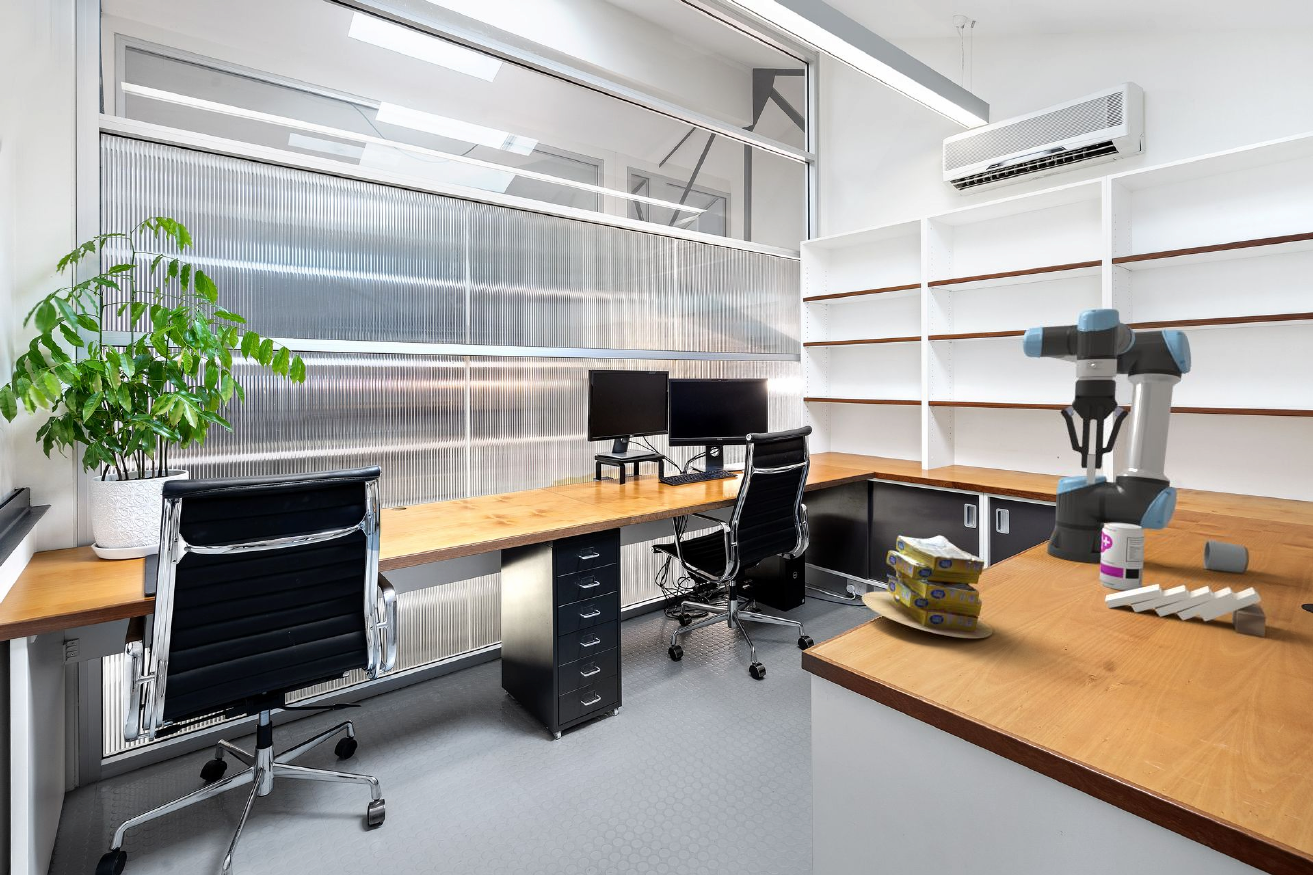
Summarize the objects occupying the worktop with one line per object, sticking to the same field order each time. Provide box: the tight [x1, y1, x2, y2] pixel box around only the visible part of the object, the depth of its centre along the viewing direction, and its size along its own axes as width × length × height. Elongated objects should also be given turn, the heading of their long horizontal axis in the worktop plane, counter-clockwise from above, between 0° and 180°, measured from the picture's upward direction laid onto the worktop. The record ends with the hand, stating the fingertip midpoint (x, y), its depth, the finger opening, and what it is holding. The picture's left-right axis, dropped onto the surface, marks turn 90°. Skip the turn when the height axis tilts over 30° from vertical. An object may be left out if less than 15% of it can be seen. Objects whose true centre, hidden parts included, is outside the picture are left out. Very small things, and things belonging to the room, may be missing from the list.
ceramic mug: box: [1203, 539, 1250, 574], centre depth 169 cm, size 11×8×8 cm
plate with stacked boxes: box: [861, 535, 994, 639], centre depth 130 cm, size 25×25×17 cm
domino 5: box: [1199, 587, 1262, 622], centre depth 128 cm, size 2×5×10 cm
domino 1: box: [1104, 583, 1163, 609], centre depth 138 cm, size 2×5×10 cm
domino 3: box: [1154, 585, 1214, 618], centre depth 132 cm, size 2×5×10 cm
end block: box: [1231, 603, 1267, 638], centre depth 126 cm, size 4×9×4 cm, turn 142°
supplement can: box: [1099, 523, 1145, 592], centre depth 153 cm, size 8×8×15 cm
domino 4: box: [1176, 586, 1237, 621], centre depth 130 cm, size 2×5×10 cm
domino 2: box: [1130, 585, 1190, 613], centre depth 135 cm, size 2×5×10 cm
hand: (1090, 482), depth 145 cm, fingers closed
